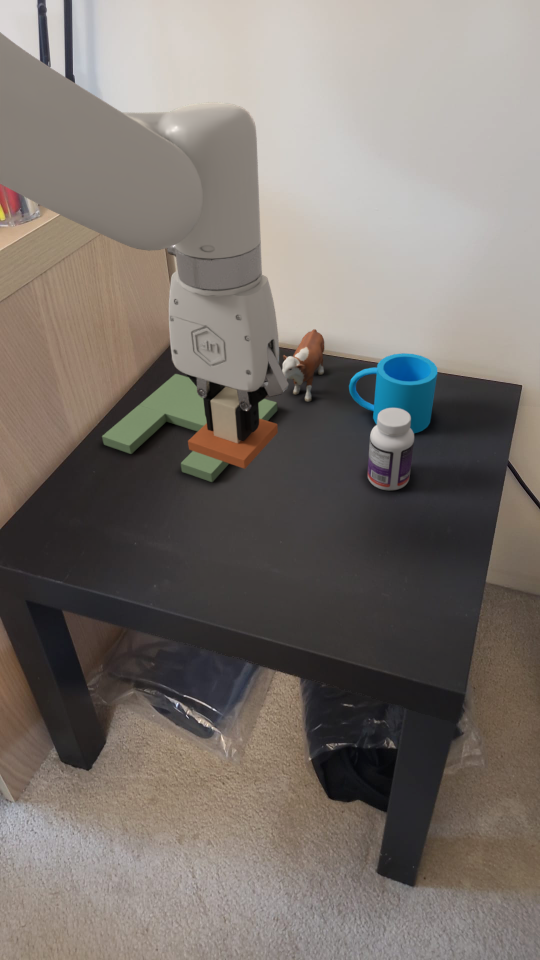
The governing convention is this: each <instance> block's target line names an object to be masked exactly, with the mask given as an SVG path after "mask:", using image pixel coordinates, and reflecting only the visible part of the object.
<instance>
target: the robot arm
mask: <svg viewBox="0 0 540 960" xmlns="http://www.w3.org/2000/svg"><path fill="white" fill-rule="evenodd" d="M257 137H258V136H257V127H256V123H255V120H254V118H253V116H252V115H251V113H250V112H249V110H247V109H246V108H244V107H243V106H241V105H237V104H233V103H229V102H221V101H219V102H218V101H213V102H209V101H208V102H197V103H196V102H195V103H191V104H185V105H181V106H179V107H177V108H174V109H173V110H170V111H155V112H154V111H153V112H152V111H151V112H123V111H120V110H119V109H117V108H116V107H115V106H113V105H111V104H109V103H108V102H106V101H104V100H103V99H102V98H100V97H98V96H97V95H95V94H93V93H92V92H90V91H88V90H86V89H85V88H84V87H82V86H80V85H79V84H77V83H75V82H74V81H73V80H70V79H69V78H67V77H66V76H64V75H63V74H61V73H60V72H58V71H56V70H55V69H53V68H52V67H50V66H48V65H47V64H46V63H44V62H43V61H41V60H40V59H39V58H36V57H35V56H34V55H32V54H31V53H29V52H28V51H26V50H25V49H23V48H22V47H21V46H19V45H18V44H16V43H15V42H13V41H12V40H11V39H10V38H9V37H7V36H6V35H5V34H4V33H2V31H1V32H0V185H1V186H3V187H5V188H7V189H9V190H11V191H13V192H14V193H17V194H19V195H21V196H23V198H25V199H28V200H30V201H31V202H34V203H36V204H38V205H40V207H41V206H42V207H43V208H45V209H47V210H50V211H51V212H53V213H56V214H58V215H59V216H62V217H63V218H66V219H67V220H69V221H72V222H74V223H77V224H78V225H81V226H83V227H85V228H87V229H89V230H91V231H94V232H95V233H98V234H100V235H101V236H105V237H107V238H109V239H111V240H113V241H115V242H118V243H119V244H122V245H125V246H127V247H128V248H129V247H130V248H131V249H132V248H133V249H136V250H141V251H148V252H150V251H151V252H152V251H161V250H166V251H167V254H169V255H170V256H174V257H175V260H176V269H177V270H176V271H174V272H173V273H172V274H171V278H170V285H169V296H168V328H169V329H168V332H169V344H170V353H171V362H172V363H173V365H174V367H175V368H176V369H177V370H178V371H179V372H181V373H183V374H185V375H186V377H189V378H190V380H191V381H192V382H193V383H194V384H195V385H196V387H197V393H198V395H199V396H200V397H201V398H203V400H204V409H205V416H206V421H207V429H208V430H210V431H214V430H213V420H212V410H211V400H212V399H213V398H214V397H215V396H216V395H217V394H219V393H220V392H221V391H222V390H223V389H224V388H225V387H229V388H232V389H236V390H237V394H238V400H239V405H240V406H239V407H238V408H237V409H236V412H235V413H236V426H237V438H238V440H240V441H245V440H246V439H247V437H248V436H249V435H250V434H251V433H252V432H254V431H255V430H256V429H257V428H258V426H259V406H258V403H259V402H260V401H262V400H263V399H266V398H271V397H276V396H281V395H283V394H284V393H285V391H287V390H288V388H289V386H290V384H289V382H288V379H287V380H286V378H285V376H284V374H283V372H282V367H281V365H280V341H279V329H278V322H277V321H278V320H277V314H276V313H277V312H276V308H275V303H274V298H273V293H272V289H271V285H270V282H269V279H268V276H267V275H264V274H263V268H262V267H263V265H262V243H261V212H260V189H259V164H258V163H259V162H258V161H259V160H258V138H257Z"/></svg>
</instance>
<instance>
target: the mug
mask: <svg viewBox="0 0 540 960" xmlns="http://www.w3.org/2000/svg"><path fill="white" fill-rule="evenodd" d="M369 375H376V377H375V378H376V379H375V388H374V389H375V391H374V402H373V404H372V403H371V402H368V401H367V400H365V399H364V398H362V396H360V394H359V392H358V391H357V383H358V382H359V380H360V379H362V378H363V377H365V376H369ZM437 379H438V367H437V365H436V363H435V362H433V361H432V360H431V359H429V358H427V357H425V356H423V355H419V354H414V353H407V352H406V353H405V352H403V353H401V352H400V353H394V354H389V355H386V356H385V357H384V358H381V359H380V361H379V362H378V363H377V365H376V367H369V368H368V367H367V368H364V369H362V370H360V371H358V372H356V373H355V374H353V376H352V378H351V379H350V380H349V385H348V390H349V394H350V396H351V398H352V400H353V401H354V402H355V403H356V404H358V405H359V406H360V407H362V408H364V409H366V410H368V411H371V412H373V415H372V419H373V421H374V423H375V425H377V418H378V414H379V412H381V411H382V410H384V409H387V408H399V409H403V410H405V411H407V412H408V413H409V414H410V416H411V425H410V428H411V429H412V431H413V433H414V435H415V434H418V433H420V432H423V431H424V430H425V429H427V428H428V427H429V425H430V424H431V419H432V412H433V406H434V398H435V392H436V387H437Z"/></svg>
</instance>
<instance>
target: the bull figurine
mask: <svg viewBox="0 0 540 960" xmlns="http://www.w3.org/2000/svg"><path fill="white" fill-rule="evenodd" d="M325 348H326V347H325V339H324V337H323V334H321V333H320V332H318V330H317V329H315V328H314V329H312V330H311V331H308V332H307V333H305V334H304V336H303V337H302V339H301V341H300V343H299V344H298V346H297V348H296V350H295V351H294V353H293V355H290V356H286V355H285V354H283V355H282V359H283V360H284V361H283V362H282V368H281V370H282V372H283V374H284V376H285V378H286V380H287V381H288V380H293V384H294V388H293V390H292V394H293V395H299V394H300V391H301V386H302V385H303V383H304V382H306V385H305V388H306V392H305V396H304V401H305V402H311V401H312V393H311V390H312V388H313V381H314V374H315V371H316V370H317V369H318V370H317V374H318V375H319V376H320V375H321V376H322V375H324V373H325V370H324V352H325Z"/></svg>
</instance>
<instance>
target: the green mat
mask: <svg viewBox="0 0 540 960" xmlns="http://www.w3.org/2000/svg"><path fill="white" fill-rule="evenodd" d="M258 406H259V419H263V420H266V421H269V420H270V419H271V418H272V417H273V416H274V415H275V414H276V413H277V411H278V402H277V401H274V400H271V399H268V398H267V399H266V398H264V399H263V400H262V401H260V402H259V403H258ZM166 423H169V424H173V425H175V426H179V427H182V428H185V429H189V430H192V431H195V432H198V431H199V430H200V429H201V428H202V427H203V426H204V425H205V424H206V423H207V421H206V416H205V409H204V400H203V398H201V397H200V396H199V395H198V393H197V387H196V385H195V384H194V383H193V382H192V381H191V380H190V378H189V377H188V376H187V375H182V374H178V373H174V374H173V375H172V376H171V377H170V378H169V379H168V380H166V381H165V382H164V383H162V384H161V385H160V386H159V387H158V388H157V389H156V390H155V391H153V392H152V393H151V394H150V395H149V396H147V397H146V398H145V399H144V400H143V401H141V403H139V404H137V406H136V407H134V409H132V410H131V411H130V412H129V413H127V414H126V415H125V416H124V417H123V418H121V419H120V420H119V421H118V422H117V423H116V424H114V426H112V427H111V428H110V429H109V430H107V431H106V432H104V434H102V436H101V438H102V443H103V445H104V446H107V447H109V448H112V449H116V450H118V451H121V452H124V453H126V454H130V455H133V454H134V452H135V451H136V450H137V449H138V448H140V446H142V445H143V444H144V443H145V442H146V441H147V440H149V438H150V437H152V436H153V435H154V434H155V433H156V432H157V431H159V429H160V428H161V427H163V425H165V424H166ZM229 465H230V464H229V463H226V462H224V461H221V460H218V459H215V458H212V457H209V456H206V455H203V454H200V453H198V452H195V451H192V450H191V452H190V453H189V454H188V455H187V456H186V457H185V458H184V459H183V460H182V461H181V462H180V468H181V472H182V473H184V474H187V475H190V476H193V477H195V478H199V479H201V480H204V481H207V482H210V483H213V482H214V481H215V480H216V479H217V478H218V477H219V476H220V475H221V473H223V471H224V470H225V469H226V468H227V467H228V466H229Z"/></svg>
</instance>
